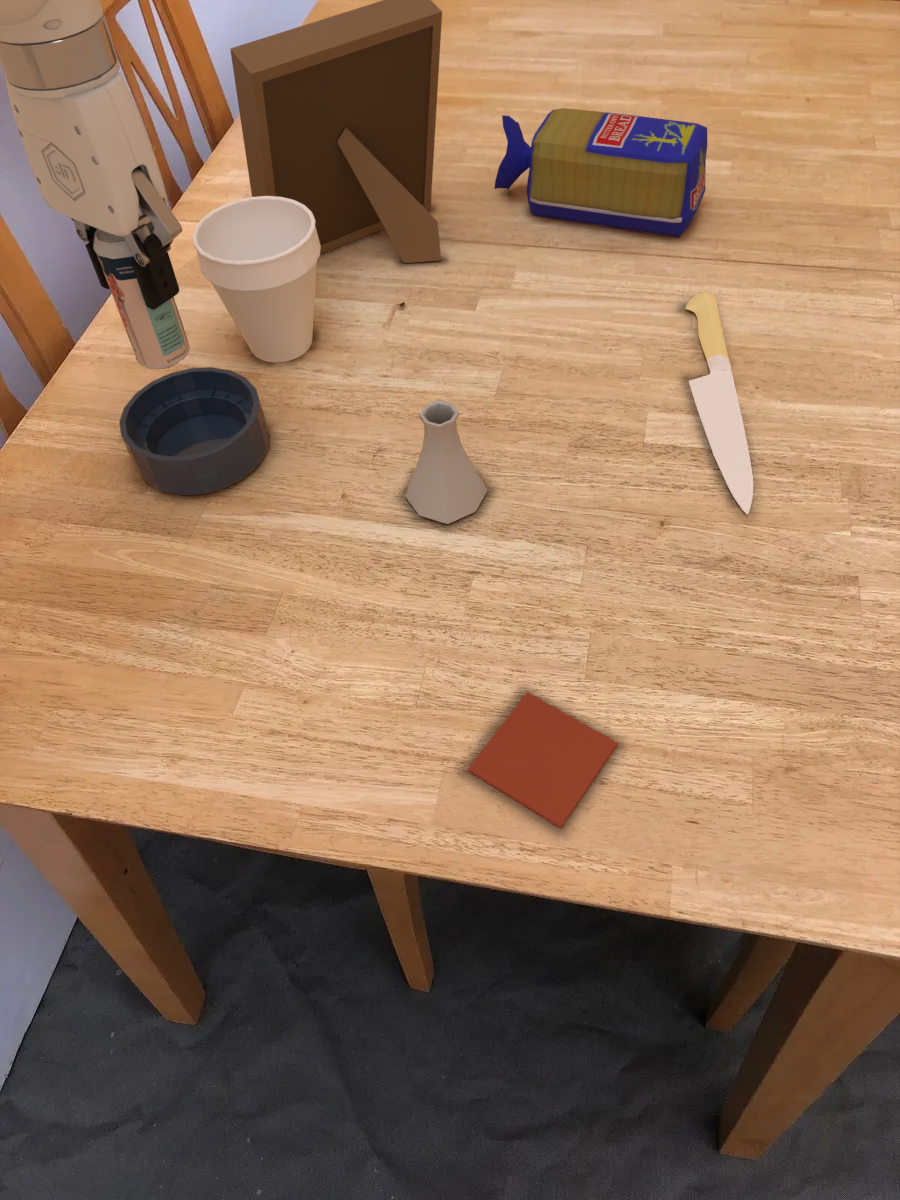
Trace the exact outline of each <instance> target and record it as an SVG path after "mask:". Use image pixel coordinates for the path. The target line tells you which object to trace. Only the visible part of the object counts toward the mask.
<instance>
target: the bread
mask: <svg viewBox="0 0 900 1200" xmlns="http://www.w3.org/2000/svg"><path fill="white" fill-rule="evenodd" d="M501 116H502V117H501V118H502V119H501V121H502V128H503V131H504V134H505V138H506V141H507V143H506V151H505V154H504V157H503V158H502V160H501V162H500V164H499V165H498V169H497V173H496V176H495V181H494V187H493V189H494V190H497V189H506V190H507V191H509V190H510V189H511V187H512V186H513V184H514V183H515V182H516V181H517V180H518V179H519V177H521V175H522V174H523V173H525V172H526V171H527V170H528V175H527V180H526V181H527V182H526V187H525V191H526V198H527V201H528V207H529V211H530V212H531V214H532V215H533V217H537V218H546V219H551V220H552V219H553V220H559V221H565V222H571V223H572V222H573V223H578V224H584V225H585V224H586V225H591V226H598V227H603V228H605V227H606V228H612V229H619V230H624V231H625V230H626V231H632V232H639V233H646V234H652V235H659V236H666V237H673V238H681V236H682V235H683V234H684V233H685V232H686V231H687V230H688V229H689V227H690V226H691V223H692V222H693V220H694V217H695V216H696V215H697V214H696V213H697V212H698V209H699V207H700V204H701V202H702V200H703V198H704V196H705V195H704V194H705V192H706V176H707V174H706V170H707V167H706V163H707V162H706V161H707V151H708V127H707V126H705V125H702V124H700V123H696V122H690V121H689V122H688V121H683V120H682V121H681V120H674V119H673V120H672V119H666V118H657V117H649V116H644V115H643V116H642V115H634V114H626V113H615V112H606V111H605V112H604V111H598V110H597V111H595V110H587V109H578V108H577V109H576V108H566V107H563V108H556V109H552V110H551V111H549V112H548V113H547V115H546V116H545V117H544V119H543V121H542V122H541V124H540V125H539V127H538V128H537V130H536V131H535V133H534V134H533V137H532V140H531V144H530V145H529V144H528V143H527V142H526V141H525V138H524V134H523V131H522V129H521V126H520V123H519V122H518V121H516V120H515V119H514V118H513V117H512V116H510V115H501Z"/></svg>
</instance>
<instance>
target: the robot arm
mask: <svg viewBox="0 0 900 1200" xmlns="http://www.w3.org/2000/svg"><path fill="white" fill-rule="evenodd" d="M0 66H1V69H2V72H3V73H4V79H5V85H6V90H7V94H8V98H9V104H10V107H11V111H12V114H13V117H14V121H15V124H16V128H17V130H18V133H19V137H20V140H21V143H22V146H23V149H24V152H25V154H26V157H27V159H28V163H29V165H30V168H31V171H32V174H33V176H34V179H35V181H36V184H37V187H38V189H39V191H40V194H41V196H42V198H43V200H44V202H45V203H46V204H47V205H48V207H50V208H51V209H52V210H54V211H55V212H57V213H59V214H61V215H64V216H66V217H68V218H70V219H71V220H72V222H73V223H74V228H75V233H76V234H77V237H78V238H79V239H80V241H82V242H83V243H86V244H85V245H84V246H85V248H86V252H87V254H88V256H89V259H90V262H91V264H92V266H93V269H94V271H95V274H96V277H97V279H98V282H99V284H100V286H101V287H102V288H104V289H106V290H110V288H109V285H108V282H107V280H106V277H105V275H104V272H103V269H102V267H101V264H100V262H99V259H98V256H97V254H96V252H95V250H94V237H95V234H94V233H95V232H96V230H97V229H100V230H102V231H105V232H107V233H110V234H113V235H116V236H121V237H124V238H125V240H126V242H127V244H128V246H129V248H130V250H131V252H132V254H133V256H134V258H135V260H136V262H135V263H134V264H132V267H133V270H134V273H135V275H136V278H137V281H138V284H139V287H140V290H141V292H142V295H143V298H144V301H145V304H146V306H147V307H148V308H150V309H153V310H154V309H156V308H158V307H159V306H161V305H162V304H164V303H165V302H167V301H168V300H170V299H171V298H172V297H174V298H175V297H176V296H178V294H179V293H180V286H179V283H178V280H177V277H176V274H175V270H174V268H173V264H172V261H171V258H170V255H169V252H170V251H171V250H172V246H171V245H172V243H173V241H174V240H175V239H177V237H178V236H179V235H180V234H181V233H182V232H183V227H182V225H181V223H180V222H179V220H178V219H177V217H176V216H175V215H174V213H173V212H172V210H171V209H170V207H169V204H168V196H167V190H166V188H165V183H164V179H163V177H162V176H163V175H162V173H161V170H160V166H159V164H158V160H157V157H156V155H155V151H154V149H153V147H152V143H151V141H150V137H149V136H148V133H147V130H146V128H145V124H144V123H143V122H144V121H143V120H142V117H141V115H140V112H139V110H138V108H137V105H136V102H135V100H134V98H133V96H132V94H131V91H130V90H129V87H128V85H127V82H126V81H125V79H124V77H123V74H122V73H120V68H121V66H120V63H119V59H118V55H117V52H116V49H115V45H114V42H113V39H112V36H111V33H110V29H109V26H108V22H107V19H106V16H105V13H104V10H103V7H102V4H101V1H100V0H0ZM140 212H141V213H140ZM145 225H146V226H147V228H148V230H149V232H150V235H148V236H147V237H146V239H145V241H144V242H143V244H142V242H141V240H140V238H139V236H138V234H137V232H136V231H137V230H139V229H140V228H142V227H144V226H145Z"/></svg>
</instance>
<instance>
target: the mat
mask: <svg viewBox="0 0 900 1200" xmlns="http://www.w3.org/2000/svg"><path fill="white" fill-rule="evenodd" d="M617 746H618V742H617V741H616V740H613V739H612V738H610V737H608V736H606V735H605V734H603V733H601V732H599V731H597V730H596V729H594V728H592V727H591V726H589V725H587V724H585V723H583V722H582V721H580V720H578V719H576V718H575V717H573V716H571V715H569V714H568V713H566V712H564V711H562V710H560V709H558V708H557V707H555V706H553V705H551V704H550V703H548V702H546V701H545V700H542V699H541V698H540V697H539V698H538V697H537V696H535V694H534V695H533V694H532V693H530V692H528V691H527V692H526V693H525V694H524V695H523V697H522V698H521V699H520V700H519V702H518V703H517V704H516V705H515V707H514V709H513V710H512V711H511V712H510V714H509V715H508V716H507V717H506V719H505V720H504V721H503V723H502V724H501V725H500V726H499V728H498V729H497V730H496V732H495V733H494V734H493V736H492V737H491V738H490V739H489V741H488V742H487V743H486V744H485V746H484V747H483V749H482V750H481V751H480V752H479V754H478V755H477V756H476V758H475V759H474V760H473V762H471V764H470V766H469V767H468V768H467V771H468V772H469V773H471V774H472V775H474V776H476V777H477V778H479V779H481V780H482V781H484V782H486V783H487V784H489V785H490V786H492V787H494V788H495V789H497V790H498V791H500V792H501V793H503V794H504V795H506V796H508V797H509V798H511V799H512V800H514V801H516V802H518V803H519V804H520V805H523V806H524V807H526V808H527V809H529V810H530V811H532V812H534V813H535V814H536V815H539V816H540V817H542V818H543V819H545V820H546V821H548V822H550V823H552V824H553V825H555V826H557V827H558V828H559V829H561V828H563V826H564V824H565V823H566V821H567V820H568V819H569V817H570V816H571V814H572V813H573V811H574V810H575V808H576V806H577V805H578V803H579V802H580V801H581V799H582V798H583V796H584V795H585V794H586V792H587V790H588V789H589V788H590V786H591V784H592V783H593V782H594V780H595V779H596V777H597V776H598V774H599V773H600V771H601V770H602V768H603V767H604V765H606V762H607V761H608V760H609V758H610V757H611V756H612V754H613V752H614V751H615V749H616V748H617Z"/></svg>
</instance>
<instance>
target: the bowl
mask: <svg viewBox="0 0 900 1200" xmlns="http://www.w3.org/2000/svg"><path fill="white" fill-rule="evenodd" d="M118 422H119V423H118V425H119V431H120V436H121V439H122V441H123V444H124V445H125V447H126V450H127V452H128V454H129V456H130V458H131V461H132V463H133V466H134V467H135V469H136V472H137V473H138V474H139V476H140V477H141V479H142V480H143V481H144V482H145V483H146V484H148V485H149V486H151V487H153V488H154V489H156V490H157V491H160V492H164V493H168V494H174V495H178V496H191V495H193V496H194V495H195V496H196V495H204V494H209V493H211V492H215V491H219V490H223V489H225V488H227V487H230V486H231V485H234V484H235V483H237V482H239V481H241V480H243V479H244V478H246V477H247V476H248V475H249V474H250V473H251V472H253V470H255V469H256V468H257V467H258V466H259V465H260V463H261V461H262V460H263V459H264V457H265V455H266V453H267V452H268V448H269V442H270V437H271V436H270V431H269V428H268V425H267V421H266V417H265V414H264V411H263V407H262V404H261V400H260V397H259V394H258V391H257V388H256V387H255V386H254V385H253V383H251V382H250V380H249V379H248V378H247V377H246V376H243V375H241V374H239V373H237V372H235V371H232V370H231V369H226V368H225V369H224V368H219V367H213V366H212V367H211V366H208V367H205V366H204V367H191V368H190V367H189V368H186V369H182V370H177V371H174V372H170V373H168V374H166V375H163V376H161V377H159V378H157V379H155V380H152V381H151V382H149V383H148V384H146V385H145V386H144V387H142V388H140V390H138V391H137V392H135V393H134V394H133V396H132V397H131V398H130V399H129V401H128V402H127V403H126V405H125V406H124V407H123V409H122V413H121V416H120V419H119V421H118Z"/></svg>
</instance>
